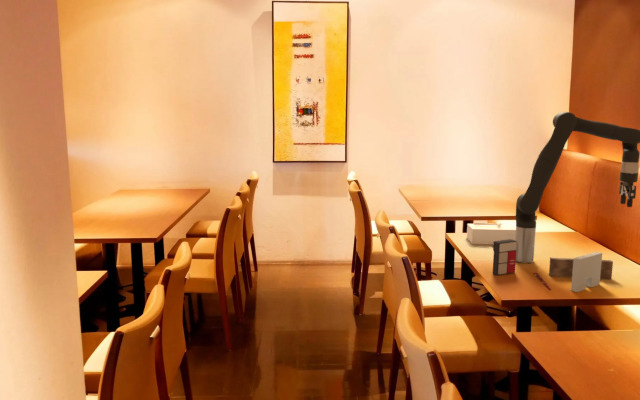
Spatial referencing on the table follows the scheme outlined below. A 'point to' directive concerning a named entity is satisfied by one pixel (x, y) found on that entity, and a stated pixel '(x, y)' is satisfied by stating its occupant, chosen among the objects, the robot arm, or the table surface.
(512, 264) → the grey red box
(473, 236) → the tissue box
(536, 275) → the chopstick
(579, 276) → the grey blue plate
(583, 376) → the table surface
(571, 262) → the walnut board
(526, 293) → the table surface
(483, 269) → the table surface
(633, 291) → the table surface
